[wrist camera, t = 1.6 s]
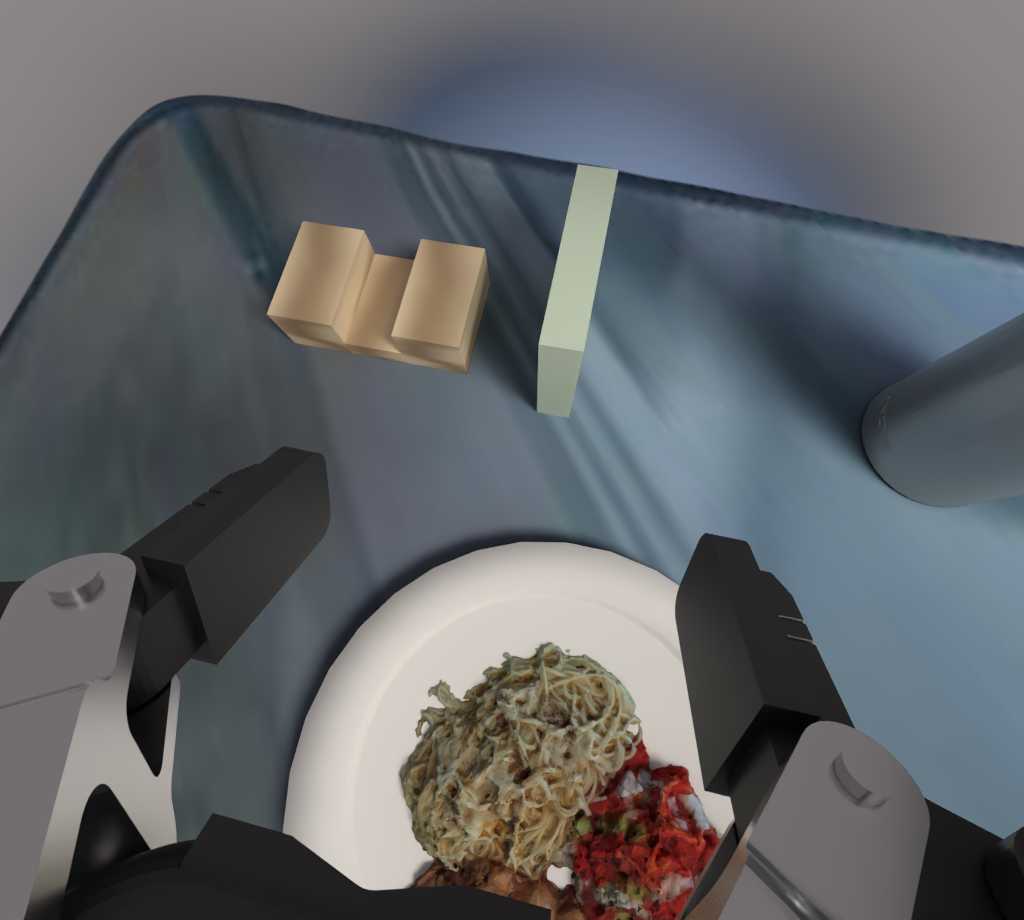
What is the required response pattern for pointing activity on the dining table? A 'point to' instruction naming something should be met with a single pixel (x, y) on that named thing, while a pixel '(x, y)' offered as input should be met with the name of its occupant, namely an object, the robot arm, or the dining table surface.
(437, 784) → the plated food
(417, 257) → the slotted maple beam
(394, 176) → the dining table surface
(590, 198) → the sage plate
